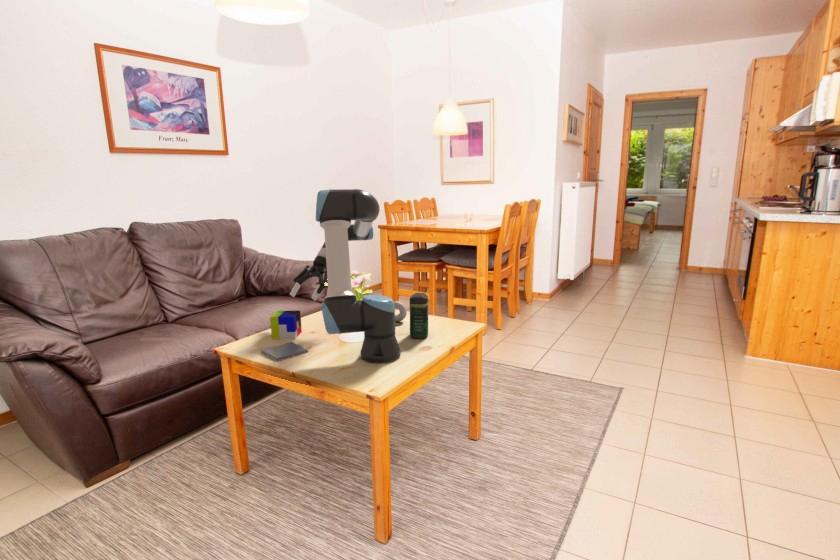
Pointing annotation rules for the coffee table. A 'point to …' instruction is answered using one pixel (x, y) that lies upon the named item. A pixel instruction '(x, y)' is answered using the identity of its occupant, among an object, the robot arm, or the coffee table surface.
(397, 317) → the donut
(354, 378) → the coffee table surface
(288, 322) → the puzzle toy
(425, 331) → the coffee jar
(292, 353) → the slate board
